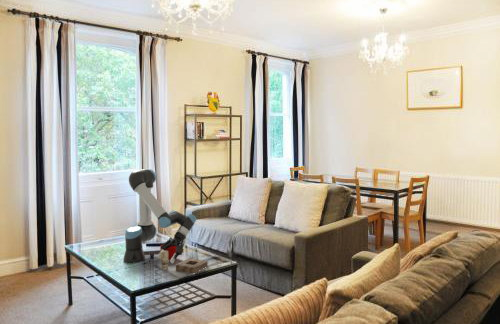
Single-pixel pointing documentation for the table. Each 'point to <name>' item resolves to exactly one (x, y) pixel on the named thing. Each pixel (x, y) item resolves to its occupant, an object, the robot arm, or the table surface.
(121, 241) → the table surface
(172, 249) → the ceramic cup
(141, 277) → the table surface
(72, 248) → the table surface
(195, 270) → the board
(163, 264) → the peg
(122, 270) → the table surface
